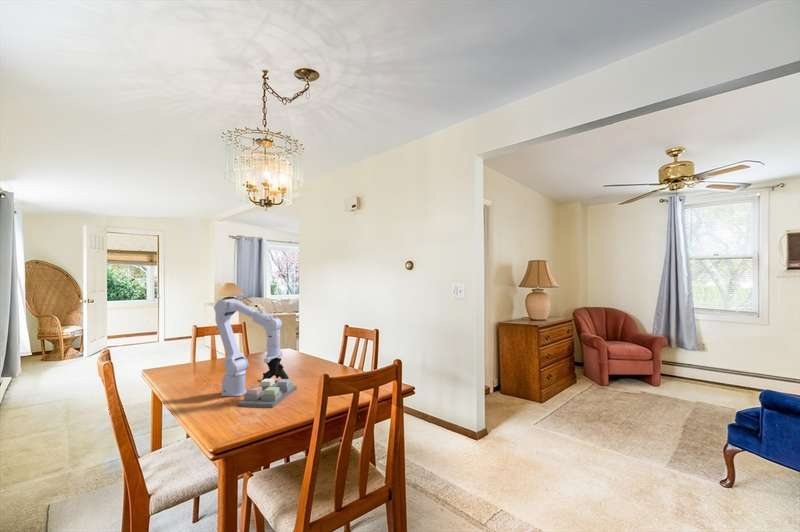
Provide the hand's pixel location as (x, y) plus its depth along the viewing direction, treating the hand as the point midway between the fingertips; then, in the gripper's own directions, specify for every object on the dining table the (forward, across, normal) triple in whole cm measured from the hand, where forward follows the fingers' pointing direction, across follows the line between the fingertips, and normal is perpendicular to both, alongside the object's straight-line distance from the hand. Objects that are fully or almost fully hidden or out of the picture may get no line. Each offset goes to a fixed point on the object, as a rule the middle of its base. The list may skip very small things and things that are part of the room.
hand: (273, 375), depth 167 cm
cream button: (+6, +5, +5) cm, 9 cm away
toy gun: (+10, +24, +10) cm, 28 cm away
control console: (+9, -1, +1) cm, 10 cm away
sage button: (+6, -7, -3) cm, 10 cm away
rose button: (+6, -7, +5) cm, 11 cm away
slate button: (+6, +5, -3) cm, 8 cm away
